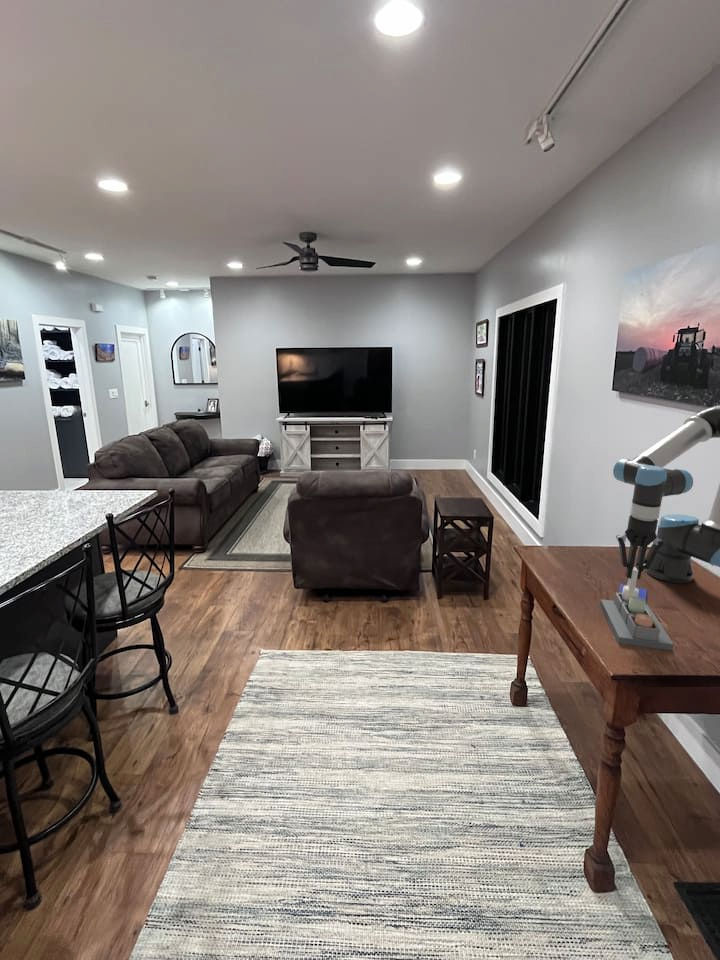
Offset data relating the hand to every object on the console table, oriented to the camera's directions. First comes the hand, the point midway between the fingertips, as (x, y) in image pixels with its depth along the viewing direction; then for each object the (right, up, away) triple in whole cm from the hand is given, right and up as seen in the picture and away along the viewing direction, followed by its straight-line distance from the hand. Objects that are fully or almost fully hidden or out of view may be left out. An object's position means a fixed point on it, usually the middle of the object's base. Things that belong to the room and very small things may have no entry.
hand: (630, 587), depth 150 cm
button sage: (-2, -6, -5) cm, 8 cm away
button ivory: (0, -4, +1) cm, 5 cm away
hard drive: (+8, -7, +14) cm, 17 cm away
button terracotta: (-3, -10, -11) cm, 15 cm away
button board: (-2, -11, -4) cm, 12 cm away
